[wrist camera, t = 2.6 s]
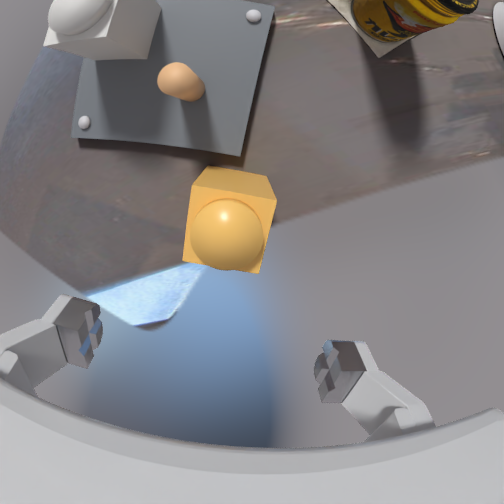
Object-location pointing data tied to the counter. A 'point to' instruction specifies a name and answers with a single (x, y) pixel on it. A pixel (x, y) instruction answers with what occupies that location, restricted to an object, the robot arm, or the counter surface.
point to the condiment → (399, 18)
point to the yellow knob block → (229, 219)
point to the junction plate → (204, 56)
